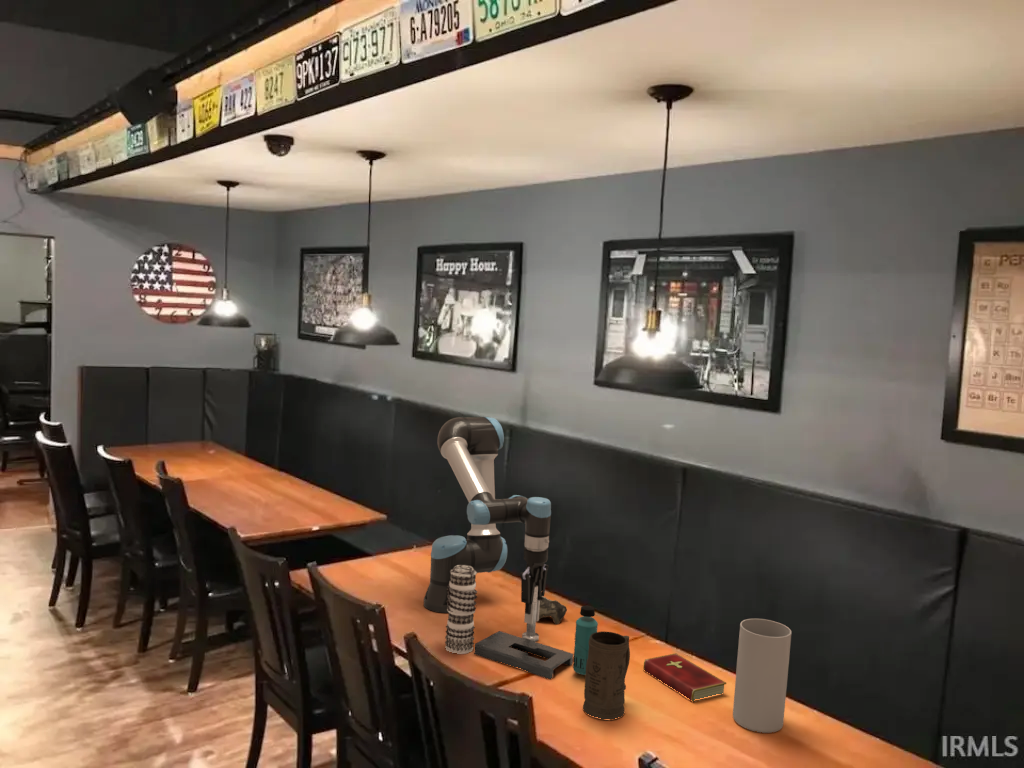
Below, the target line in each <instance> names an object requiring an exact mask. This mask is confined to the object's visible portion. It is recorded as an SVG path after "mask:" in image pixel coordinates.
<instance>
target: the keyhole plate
mask: <svg viewBox="0 0 1024 768" xmlns="http://www.w3.org/2000/svg"><path fill="white" fill-rule="evenodd" d="M512 647H513V648H512ZM515 648H516V649H515ZM518 649H519V650H518ZM521 650H522V651H521ZM525 651H526V652H525ZM528 652H529V653H528ZM531 653H532V654H531ZM473 654H474V655H475V654H476V656H479V657H482V658H485V659H488V660H490V659H491V660H490V661H493V662H496V661H498V662H497V663H499V662H502V663H505V664H508V665H511V666H514V667H518V668H521V669H523V670H526V671H528V672H527V673H529V674H533V675H535V676H538V677H541V678H544V677H545V679H547V678H548V680H552V679H553V678H554V670H555V669H557V668H558V667H560V666H561V665H567V666H569V667H571V666H573V663H574V662H573V657H574V655H573V654H574V652H573V653H571V652H568V651H566V650H563V649H559V648H557V647H553V646H550V645H547V644H543V643H539V642H538V641H536V642H534V641H530V640H527V639H524V638H522V636H521V637H519V636H517V635H513V634H510V633H507V632H504V631H500V630H499V631H497V632H496V631H495V632H494V633H492V634H490V635H489V636H487V637H485V638H482V640H479V641H477V642H476V643H474V653H473ZM529 654H531V655H534V654H535V656H537V655H538V656H537V657H540V656H541V657H540V658H543V657H545V658H544V659H546V660H543V659H540V658H537V657H534V656H530V655H529ZM547 658H548V659H547ZM502 663H501V664H502ZM505 664H504V665H505ZM508 665H507V666H508ZM511 666H510V667H511ZM514 667H513V668H514ZM523 670H522V671H523ZM526 671H525V672H526ZM551 678H552V679H551Z"/></svg>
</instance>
